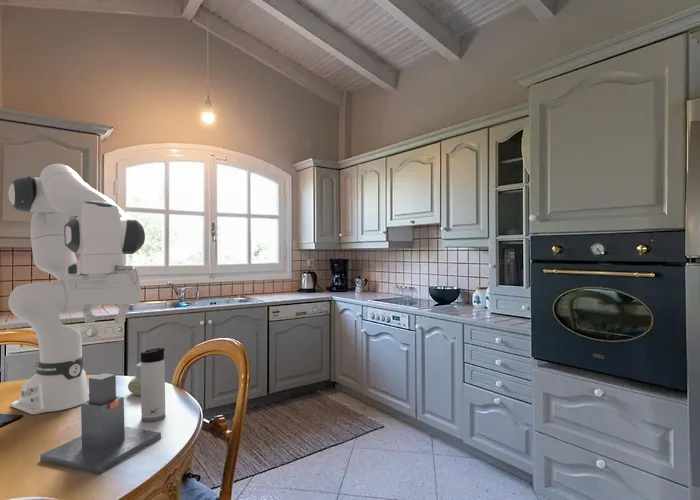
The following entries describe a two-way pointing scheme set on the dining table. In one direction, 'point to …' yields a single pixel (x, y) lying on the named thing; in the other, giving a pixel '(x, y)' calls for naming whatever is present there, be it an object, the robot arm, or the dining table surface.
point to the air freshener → (136, 382)
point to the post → (102, 388)
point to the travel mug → (152, 385)
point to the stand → (101, 439)
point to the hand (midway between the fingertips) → (104, 322)
